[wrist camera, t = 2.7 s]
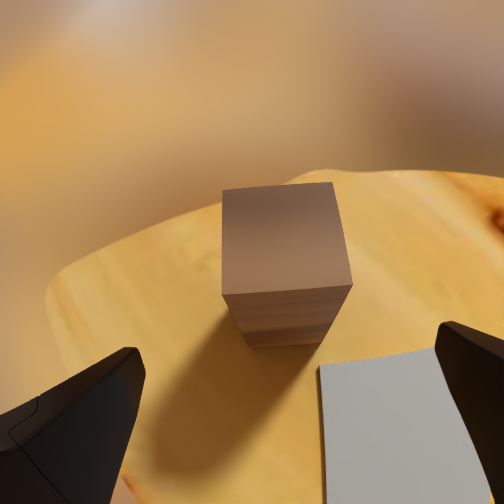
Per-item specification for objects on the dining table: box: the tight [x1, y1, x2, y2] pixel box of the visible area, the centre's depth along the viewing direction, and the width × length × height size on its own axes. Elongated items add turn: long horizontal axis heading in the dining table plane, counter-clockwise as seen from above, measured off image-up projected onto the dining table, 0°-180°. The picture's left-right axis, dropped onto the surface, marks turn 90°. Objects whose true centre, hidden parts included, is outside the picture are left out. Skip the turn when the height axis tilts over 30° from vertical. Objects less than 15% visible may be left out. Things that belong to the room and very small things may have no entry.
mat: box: [319, 347, 490, 504], centre depth 15 cm, size 16×12×1 cm
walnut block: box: [222, 182, 353, 348], centre depth 16 cm, size 4×4×10 cm
